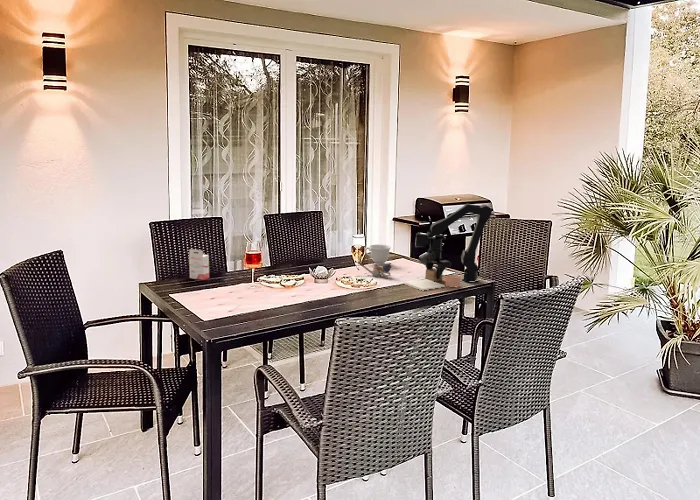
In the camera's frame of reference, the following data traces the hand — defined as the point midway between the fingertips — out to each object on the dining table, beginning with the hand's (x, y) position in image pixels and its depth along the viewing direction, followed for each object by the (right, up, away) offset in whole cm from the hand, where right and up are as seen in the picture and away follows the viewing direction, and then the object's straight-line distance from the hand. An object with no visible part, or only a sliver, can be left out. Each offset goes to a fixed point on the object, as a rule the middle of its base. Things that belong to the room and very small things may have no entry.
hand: (433, 277), depth 299 cm
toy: (-30, +1, +5) cm, 31 cm away
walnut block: (0, -1, 0) cm, 1 cm away
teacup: (-27, +6, +30) cm, 41 cm away
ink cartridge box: (-117, 0, -10) cm, 117 cm away
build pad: (-6, -3, -12) cm, 14 cm away
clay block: (+8, -4, -11) cm, 14 cm away
